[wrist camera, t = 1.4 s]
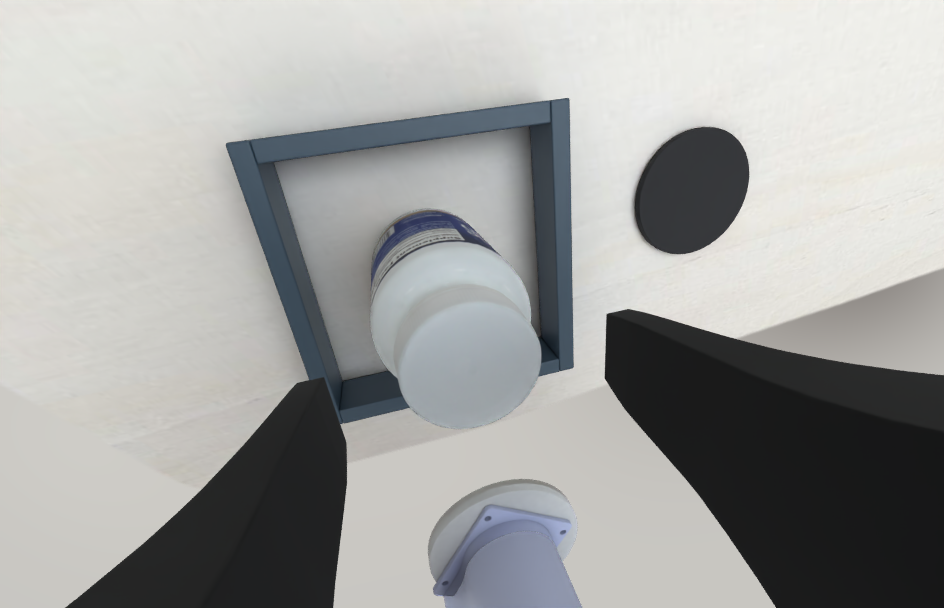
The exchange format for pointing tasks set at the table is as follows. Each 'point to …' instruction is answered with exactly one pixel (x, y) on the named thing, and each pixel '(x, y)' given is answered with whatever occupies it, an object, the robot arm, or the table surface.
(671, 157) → the coaster
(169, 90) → the table surface
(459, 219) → the pill bottle
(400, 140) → the square picture frame
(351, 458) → the table surface
